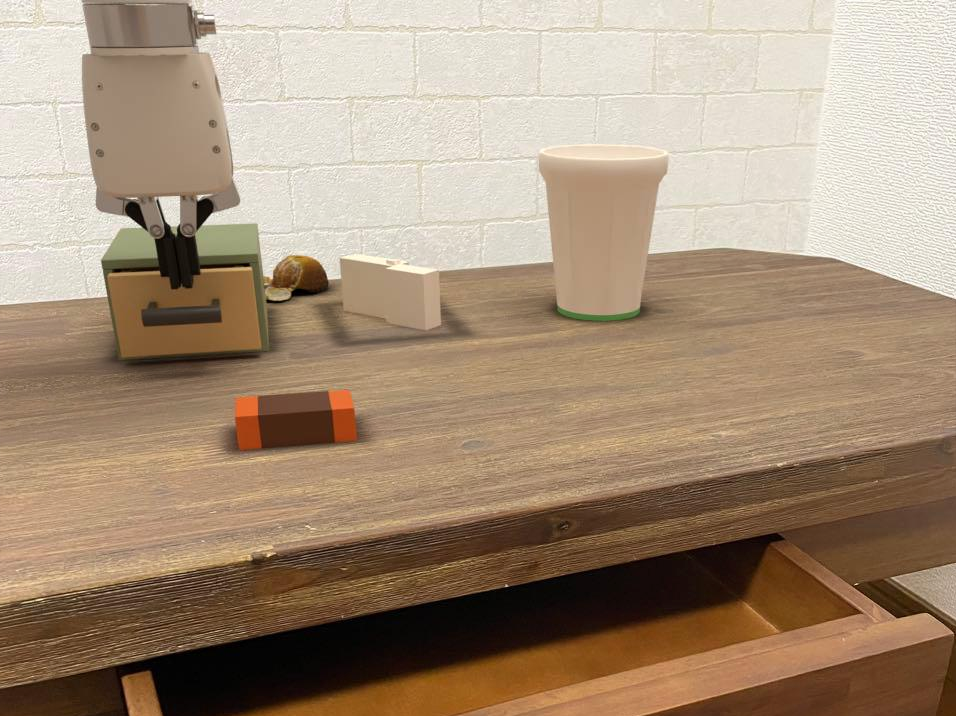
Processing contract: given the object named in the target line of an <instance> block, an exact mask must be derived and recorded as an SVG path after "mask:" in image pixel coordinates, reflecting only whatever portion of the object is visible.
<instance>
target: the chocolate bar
mask: <svg viewBox="0 0 956 716" xmlns="http://www.w3.org/2000/svg"><path fill="white" fill-rule="evenodd" d="M234 404H235V405H234V422H235V430H236V437H237V444H238V445H237V446H238V450H239V451H245V450H247V451H248V450H260V449H273V448H285V447H287V448H289V447H299V446H311V445H322V444H323V445H324V444H336V443H344V442H346V443H347V442H357V441H358V437H357V424H356V423H357V422H356V411H355V406H354V402H353V398H352V393H351V390H350V389H344V390H343V389H341V390H322V391H308V392H293V393H279V394H267V395H265V394H263V395H256V396H244V397H243V396H242V397H241V396H240V397H235V403H234Z"/></svg>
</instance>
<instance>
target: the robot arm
mask: <svg viewBox="0 0 956 716" xmlns="http://www.w3.org/2000/svg"><path fill="white" fill-rule="evenodd" d="M81 3H82V12H83V17H84V22H85V29H86V33H87V39H88V45H89V46H90V47H89V49H90V53H83V54H82V55H81V89H82V103H83V114H84V115H83V116H84V124H85V131H86V132H85V133H86V139H87V146H88V147H87V148H88V154H89V161H90V167H91V172H92V176H93V180H94V183H95V186H96V189H95V190H96V192H95V208H96V209H97V210H98V211H99V212H101V213H104V214H105V213H106V214H110V215H116V216H121V217H127V218H129V219H131V220H132V221H133V222H135V223H136V224H137V225H138V226H139V227H140V228H144V229H145V230H146V231H147V232H149V234H150V236H151V237H153V238H154V239H155V245H156V251H157V257H158V263H159V269H160V274H161V277H169V279H170V285H171V289H172V290H173V289H178V288H179V287H181V284H182V287H185V289H191V288H192V287H193V282H194V278H193V275H200V274H201V272H200V263H199V257H198V250H197V243H196V237H195V233H196V232H197V230H198V229H199V228H200V227H201V226H202V225H204V224H205V222H207V220H208V218H209V217H210V216H211V215H212V214H215V213H218V212H222V211H226V210H228V209H232V208H236V207H238V206H239V205H240V203H241V195H240V192H239V189H238V187H237V184H236V182H235V179H234V162H233V154H232V146H231V140H230V134H229V128H228V124H227V123H228V122H227V117H226V113H225V112H226V111H225V107H224V102H223V96H222V91H221V87H220V83H219V79H218V75H217V72H216V68H215V64H214V62H213V59H212V56H211V54H210V52H206V51H205V52H204V51H203V52H202V51H200V50H199V40H202V38H203V37H204V38H206V37H207V35H209V36H210V35H212V36H213V35H218V34H217V26H216V18H215V14H205V13H204V12H199V11H198V10H197V9H194V5H193V4H190V3H193V0H81ZM199 196H201V197H200V198H199ZM163 197H166V198H167V197H179V224H178V225H177V226H178V227H177V235H175V234H173V232H172V231H171V227H172V226H171V225H170V224H169V223H168V222H167V219H166V216H165V214H164V213H165V212H164V210H163V207H162V203H161V200H160V198H163Z"/></svg>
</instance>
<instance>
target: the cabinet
mask: <svg viewBox="0 0 956 716" xmlns="http://www.w3.org/2000/svg"><path fill="white" fill-rule="evenodd" d="M177 227H178V225H176V226H175V225H173V226H171V231H172V232H173V234H175V235H177ZM195 237H196V243H197V250H198V257H199V263H200V265H215V264H237V263H247V266H248V267H252V272H253V281H254V289H255V298H256V306H257V315H258V323H259V332H260V340H261V349H253V350H237V351H220V352H204V353H188V354H172V355H155V356H139V357H122V356H121V350H120V345H119V339H118V334H117V328H116V323H115V317H114V312H113V306H112V301H111V295H110V290H109V284H108V279H107V276H108V274H109V273H120V272H121V270H122V269H124V268H146V267H159V263H158V257H157V251H156V245H155V239H154V238H153V237H151V236H150V234H149V232H147V231H146V230H145V229H144V228H142V227H121V228H120V229H119V230H118V232H117V233H116V235H115V237H114V238H113V239H112V242H110V245H108V248H107V250H106V251H105V253H104V254H103V256H102V258H101V259H100V264H101V268H102V276H103V280H104V285H105V291H106V297H107V302H108V307H109V308H108V309H109V312H110V319H111V325H112V330H113V334H114V341H115V346H116V351H117V358H118V361H129V360H143V359H158V358H176V357H191V356H207V355H208V356H209V355H225V354H226V355H227V354H240V353H256V352H257V353H258V352H269V351H270V344H269V343H270V341H269V339H270V338H269V321H268V319H269V318H268V317H269V316H268V304H267V299H266V295H265V289H266V286H265V284H264V278H263V276H264V269H263V262H262V253H261V252H262V251H261V243H260V236H259V226H258V223H232V224H231V223H230V224H202V226H201V227H200V228H199V229H198V230H197V232H196V233H195Z"/></svg>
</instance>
